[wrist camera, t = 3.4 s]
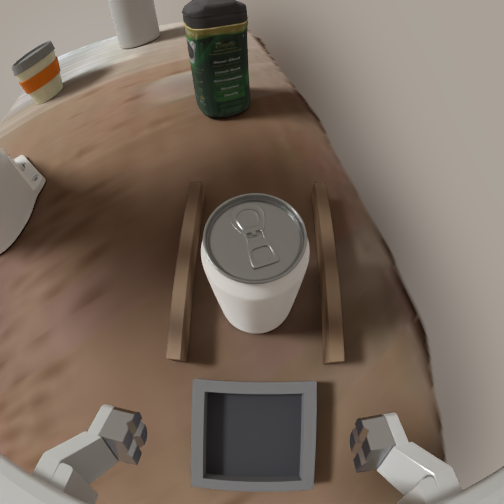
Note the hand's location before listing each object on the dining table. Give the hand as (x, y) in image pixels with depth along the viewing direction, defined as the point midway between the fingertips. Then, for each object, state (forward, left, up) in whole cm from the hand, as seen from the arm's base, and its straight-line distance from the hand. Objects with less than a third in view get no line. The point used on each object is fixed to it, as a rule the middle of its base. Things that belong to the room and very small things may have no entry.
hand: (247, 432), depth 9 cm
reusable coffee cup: (-83, +4, -15) cm, 84 cm away
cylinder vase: (-85, +35, -15) cm, 93 cm away
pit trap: (+2, -2, -14) cm, 15 cm away
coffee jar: (-33, +25, -15) cm, 44 cm away
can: (-7, +7, -15) cm, 17 cm away
